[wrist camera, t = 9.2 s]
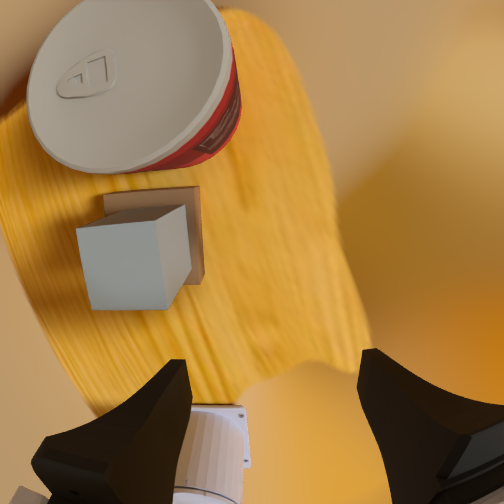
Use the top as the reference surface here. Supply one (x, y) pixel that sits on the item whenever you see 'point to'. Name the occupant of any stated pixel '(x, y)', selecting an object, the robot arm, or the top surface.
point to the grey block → (135, 258)
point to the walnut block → (167, 198)
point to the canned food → (135, 86)
